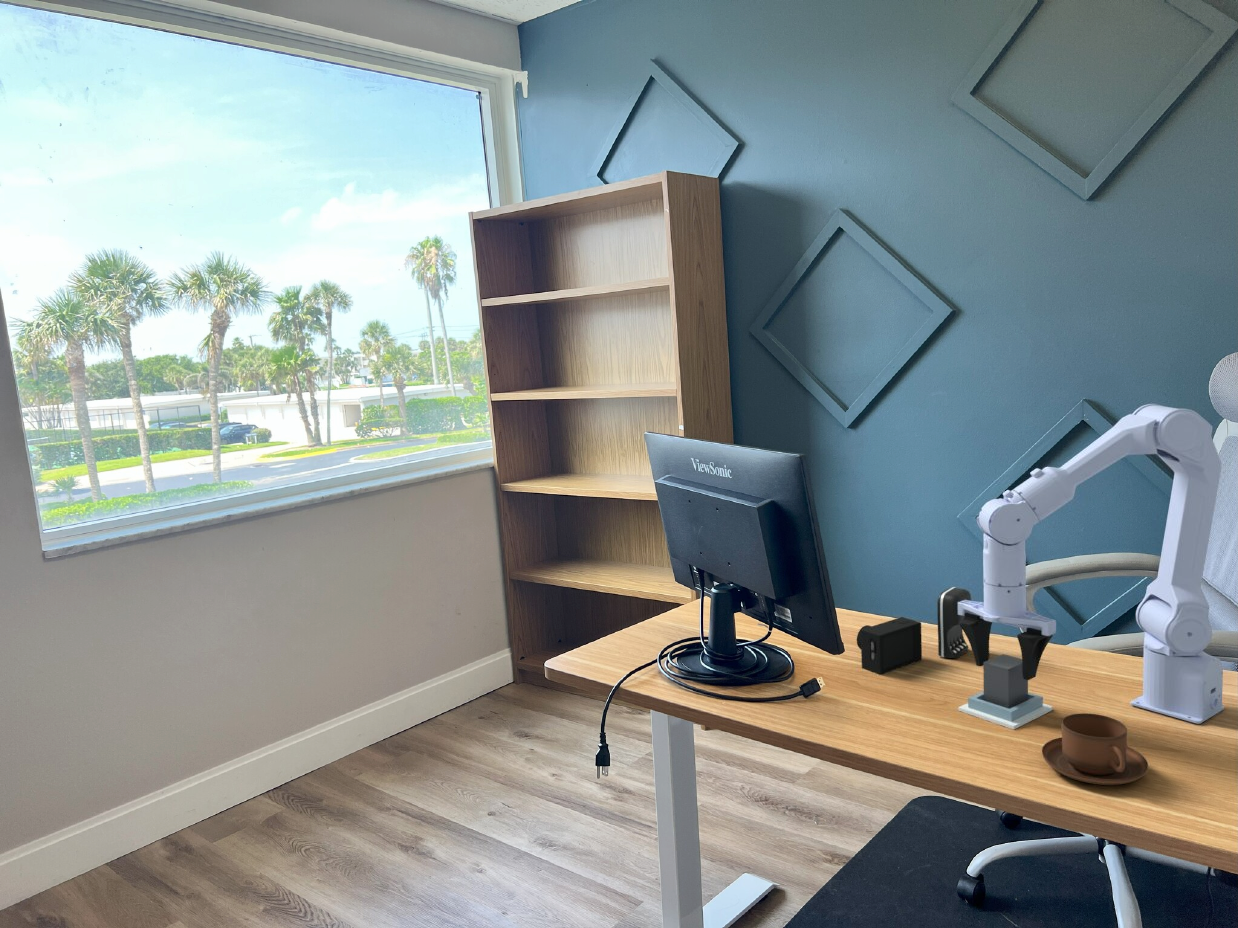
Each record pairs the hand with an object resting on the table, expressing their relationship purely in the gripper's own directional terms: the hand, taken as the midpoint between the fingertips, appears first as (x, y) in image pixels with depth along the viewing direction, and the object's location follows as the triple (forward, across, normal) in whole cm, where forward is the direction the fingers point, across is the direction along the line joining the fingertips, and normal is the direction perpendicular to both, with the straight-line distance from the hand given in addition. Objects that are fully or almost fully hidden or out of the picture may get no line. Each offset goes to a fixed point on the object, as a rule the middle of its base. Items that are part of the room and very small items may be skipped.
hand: (1005, 670), depth 135 cm
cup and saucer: (+6, +18, -8) cm, 21 cm away
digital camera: (+6, -24, +3) cm, 25 cm away
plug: (+6, 0, 0) cm, 6 cm away
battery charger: (+6, -19, +15) cm, 25 cm away
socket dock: (+6, 0, 0) cm, 6 cm away
